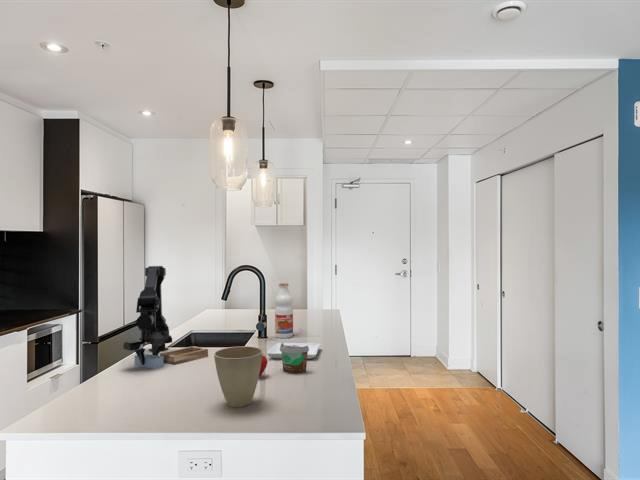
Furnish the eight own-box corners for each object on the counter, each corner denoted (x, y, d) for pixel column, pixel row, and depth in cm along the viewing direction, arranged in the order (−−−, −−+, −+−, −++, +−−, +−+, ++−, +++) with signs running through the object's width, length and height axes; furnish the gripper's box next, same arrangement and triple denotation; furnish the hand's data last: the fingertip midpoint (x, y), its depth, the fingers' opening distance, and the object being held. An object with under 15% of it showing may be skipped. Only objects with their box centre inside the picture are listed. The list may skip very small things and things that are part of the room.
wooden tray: (159, 361, 194) (159, 353, 194) (193, 353, 208) (193, 346, 208) (174, 364, 188) (174, 357, 188) (208, 356, 201) (207, 349, 201)
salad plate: (321, 349, 212) (321, 342, 212) (316, 362, 191) (316, 353, 191) (276, 349, 214) (275, 342, 214) (266, 361, 193) (266, 353, 193)
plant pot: (211, 398, 146) (210, 348, 146) (257, 392, 152) (256, 344, 152) (218, 415, 132) (217, 360, 132) (268, 408, 138) (267, 354, 138)
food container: (273, 372, 176) (273, 345, 176) (282, 368, 181) (281, 342, 181) (301, 376, 170) (301, 349, 170) (309, 371, 175) (309, 345, 175)
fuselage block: (134, 365, 188) (134, 355, 188) (143, 362, 192) (143, 353, 192) (154, 369, 182) (154, 359, 182) (163, 366, 186) (163, 356, 186)
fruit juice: (288, 334, 247) (288, 282, 247) (296, 337, 239) (295, 283, 239) (272, 336, 243) (271, 283, 243) (279, 339, 234) (278, 284, 235)
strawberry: (269, 374, 173) (269, 347, 173) (264, 380, 165) (264, 352, 165) (254, 373, 173) (254, 347, 173) (248, 379, 166) (248, 352, 166)
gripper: (137, 330, 175) (137, 371, 175) (179, 323, 189) (180, 361, 189) (122, 327, 182) (122, 367, 181) (164, 321, 196) (164, 357, 196)
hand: (148, 363), depth 187 cm, fingers closed on fuselage block, 5 cm apart
